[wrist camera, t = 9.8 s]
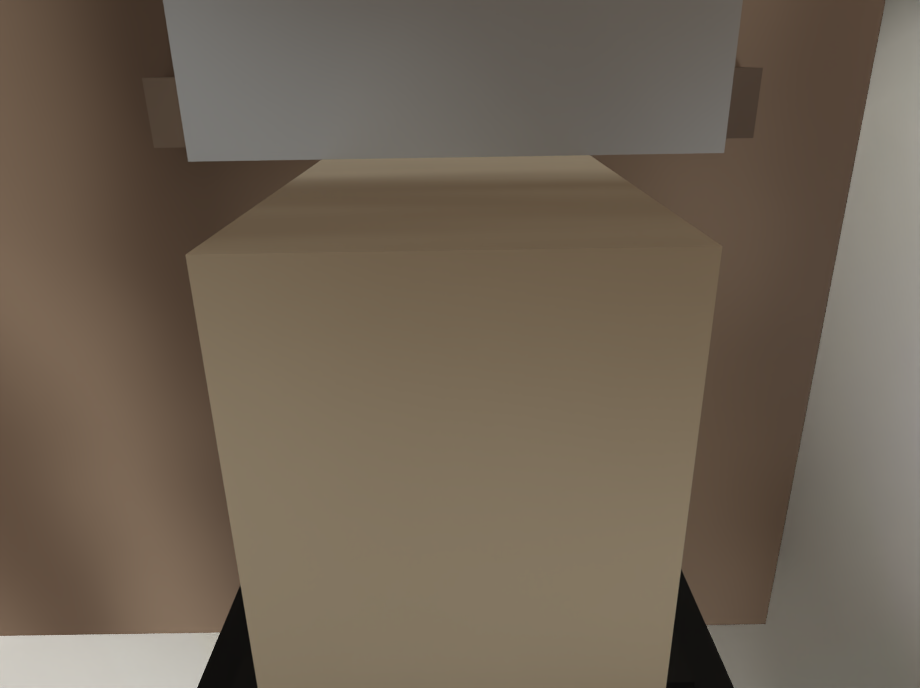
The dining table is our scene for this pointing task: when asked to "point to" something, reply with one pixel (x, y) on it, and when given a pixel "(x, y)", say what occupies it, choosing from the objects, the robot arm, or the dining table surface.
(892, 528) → the dining table surface
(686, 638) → the robot arm
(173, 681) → the dining table surface
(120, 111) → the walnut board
